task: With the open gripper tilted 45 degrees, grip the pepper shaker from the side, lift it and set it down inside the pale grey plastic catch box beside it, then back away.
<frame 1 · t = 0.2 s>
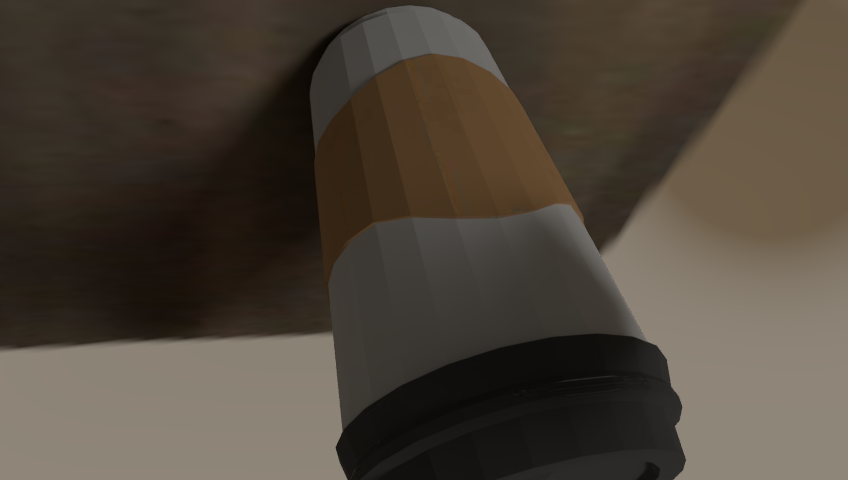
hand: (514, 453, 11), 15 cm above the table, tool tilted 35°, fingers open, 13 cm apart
coffee cup: (397, 72, 24), on the table
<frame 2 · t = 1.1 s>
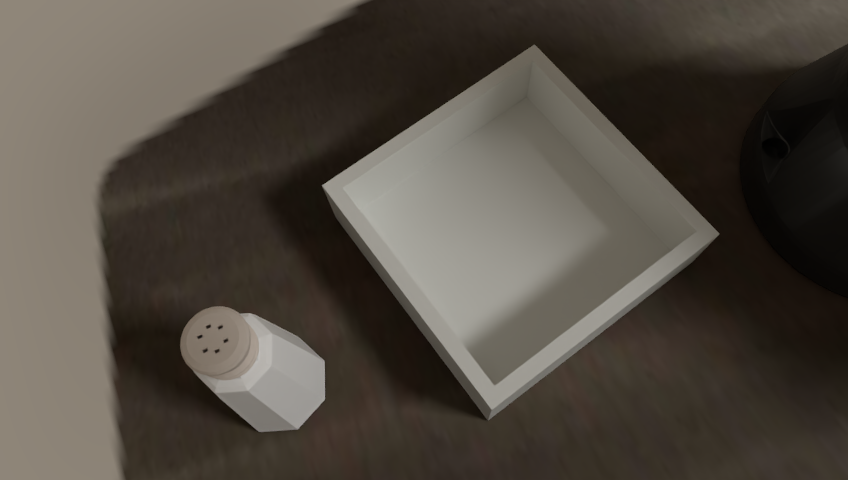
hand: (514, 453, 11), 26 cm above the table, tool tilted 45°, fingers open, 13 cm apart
catch box: (509, 239, 40), on the table
pepper shaker: (280, 384, 38), on the table
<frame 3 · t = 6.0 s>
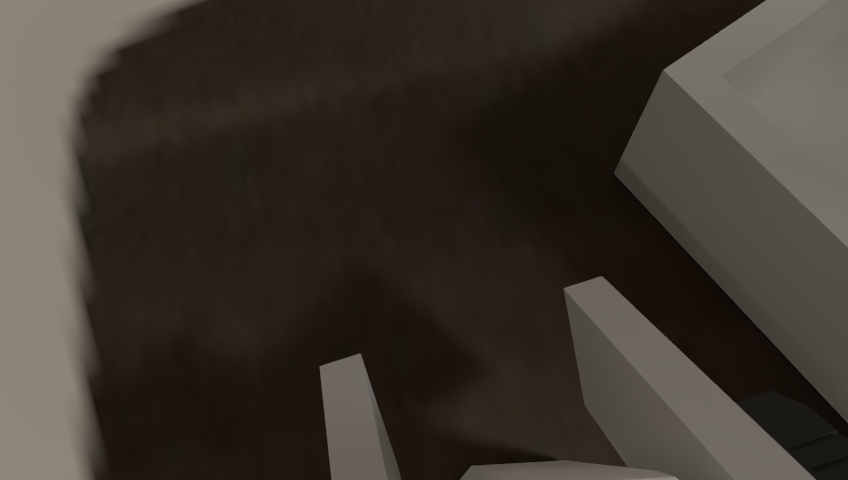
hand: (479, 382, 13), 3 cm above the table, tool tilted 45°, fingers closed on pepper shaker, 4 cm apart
when the fingers open (6 cm above the table, at t = 10.8 s): pepper shaker drops 2 cm, resting on catch box.
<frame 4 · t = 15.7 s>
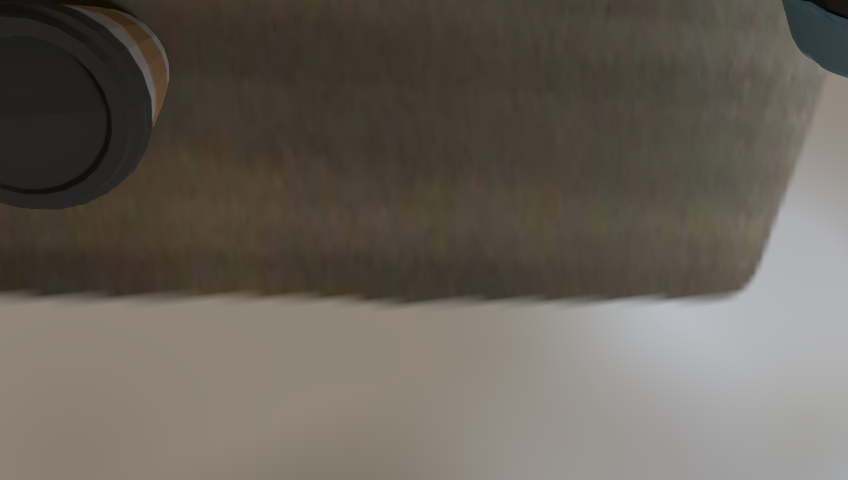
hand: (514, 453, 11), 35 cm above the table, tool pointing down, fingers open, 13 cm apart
coffee cup: (113, 65, 40), on the table
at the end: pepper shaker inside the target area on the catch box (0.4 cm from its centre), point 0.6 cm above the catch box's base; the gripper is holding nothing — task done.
